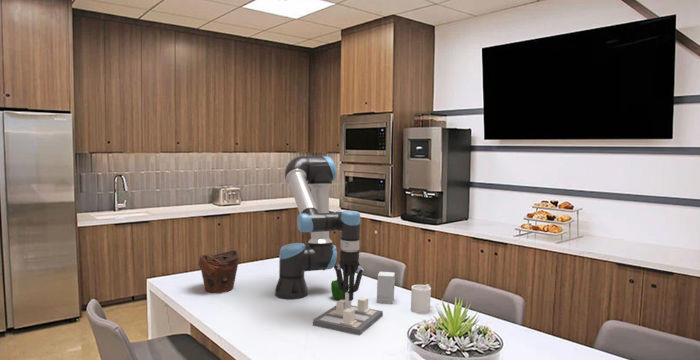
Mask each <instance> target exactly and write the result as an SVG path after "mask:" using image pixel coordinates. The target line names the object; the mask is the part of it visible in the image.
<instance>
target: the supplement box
mask: <svg viewBox="0 0 700 360" xmlns="http://www.w3.org/2000/svg"><path fill="white" fill-rule="evenodd" d="M395 276H396V273H395V272H394V271H393V272H391V271H379V272H378V274H377V283H376V304H377V303H378V304H388V305H393V302H394V300H395V285H396V283H395V282H396V281H395V278H396V277H395Z"/></svg>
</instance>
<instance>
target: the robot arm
mask: <svg viewBox="0 0 700 360" xmlns="http://www.w3.org/2000/svg"><path fill="white" fill-rule="evenodd" d="M336 169H337V168H336V163H335V162H334V160H333V159H332V158H331V157H330V156H325V155H321V156H320V155H319V156H318V155H315V156H314V155H313V156H312V155H310V156H309V155H299V156H296V157H294V158H293V159H291V160H290V161H289V162H288V164H287V165H286V167H285V169H284V170H285V171H284V179H285V181H286V183H287V185H288V186H290V189H291V192H292V195H293V199H294V200H295V201H294V202H295V205H296V207H297V210H298V212H299V214H298V215H297V218H296V224H297V230H298V231H299V232H300V233H310V236H311V237H310V239H309V240H308V242H307V245H305V243H303V242H293V243H288V244H285V245H283V246H281V248H280V249H279V256H278V258H279V261H278V262H279V266H278V267H279V270H278V274H279V276H278V280H277V284H276V287H275V291H274V292H275V293H274V294H275V296H276V297H278V298H280V299H285V300H294V299H302V298H305V297H307V296H308V294H309V293H308V292H309V289H308V287H307V283H306V279H305V272H312V271H313V272H314V271H315V272H317V271H327V270H332V269H334V271H335V274H336V280H338V286H339V289H340V290H342V291H343V299H342V300H345V309H347V308H351V305H352V301H353V300H354V293H356V292H357V291H359V288H360V284H361V280H362V276H363V274H364V272H365V271H366V269H365V268H363V267H362V266H360V262H359V261H360V251H359V250H360V237H361V235H360V233H361V221H362V220H361V213H360V212H359V211H356V210H343V211H338V210H337V211H333V212H330V192H329V191H330V189H329V188H330V187H331V186H332V184H333V182H334V181H335V180H336V177H337V170H336ZM330 232H340V253H339V258H340V259H339V262H338V264H336V262H337V258H338V251H337V246H336V245H335V244H333V241H332V240H331V238H330ZM356 272H357V274H356ZM355 275H356V277H355ZM348 284H349V289H348Z"/></svg>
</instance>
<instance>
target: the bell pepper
mask: <svg viewBox="0 0 700 360" xmlns="http://www.w3.org/2000/svg"><path fill="white" fill-rule="evenodd" d="M330 286H331V287H330V290H331V294H332V297H333V298H334V299H335V300H337V301H340V300H344V299H343V291H342V290H340V289H339V286H338V280H337V279H335V280H331V284H330ZM348 289H349V283H348Z"/></svg>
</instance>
